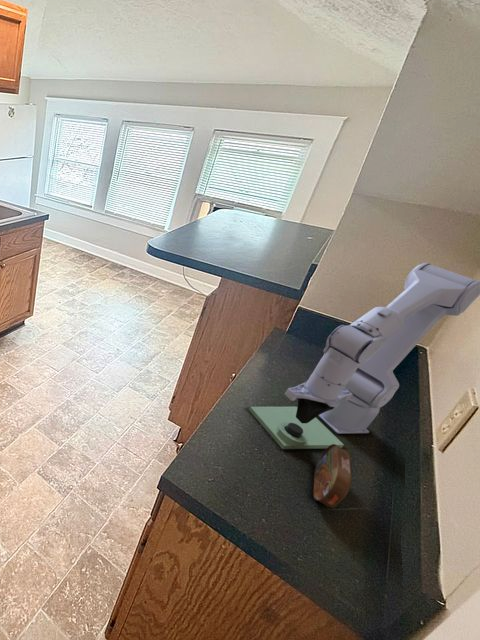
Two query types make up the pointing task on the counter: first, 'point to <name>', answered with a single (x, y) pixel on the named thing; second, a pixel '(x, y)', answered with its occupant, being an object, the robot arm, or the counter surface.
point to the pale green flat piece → (312, 431)
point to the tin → (332, 476)
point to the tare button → (294, 430)
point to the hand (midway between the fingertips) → (301, 420)
